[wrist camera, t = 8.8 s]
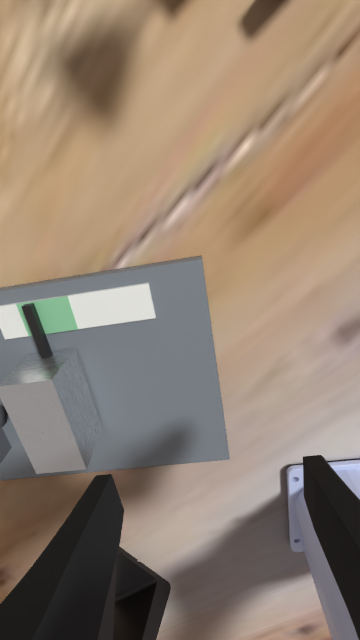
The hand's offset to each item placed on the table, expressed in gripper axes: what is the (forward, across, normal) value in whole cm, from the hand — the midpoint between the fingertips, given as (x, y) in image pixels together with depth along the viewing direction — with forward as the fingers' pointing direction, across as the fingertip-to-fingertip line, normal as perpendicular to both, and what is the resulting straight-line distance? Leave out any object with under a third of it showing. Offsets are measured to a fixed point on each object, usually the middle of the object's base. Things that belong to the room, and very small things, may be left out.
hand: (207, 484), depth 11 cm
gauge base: (+8, +8, 0) cm, 12 cm away
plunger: (+7, +9, -2) cm, 11 cm away
